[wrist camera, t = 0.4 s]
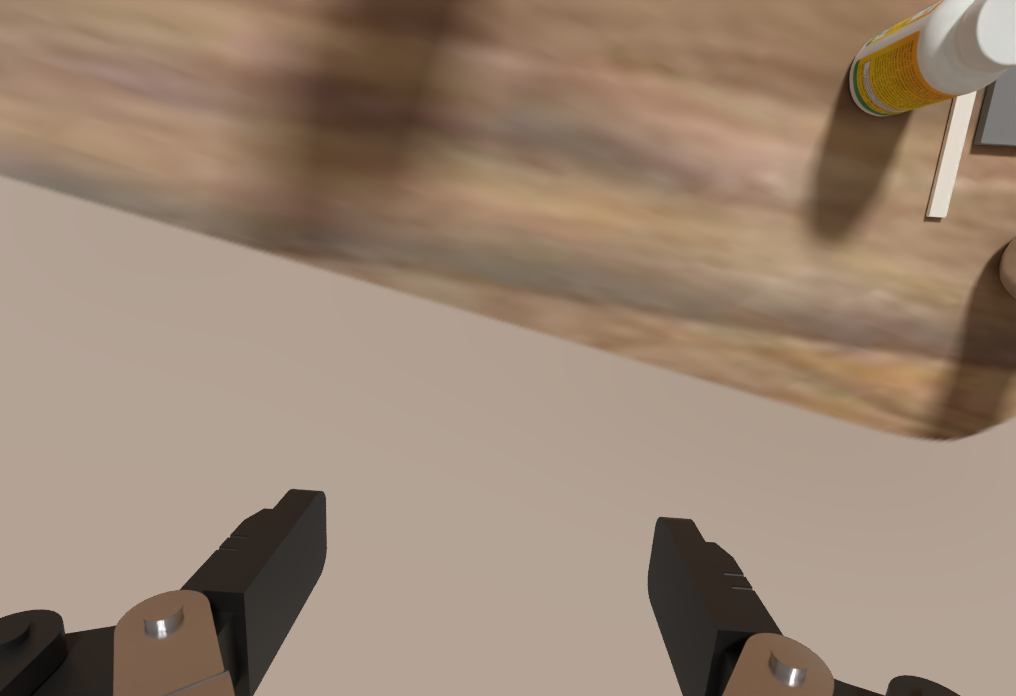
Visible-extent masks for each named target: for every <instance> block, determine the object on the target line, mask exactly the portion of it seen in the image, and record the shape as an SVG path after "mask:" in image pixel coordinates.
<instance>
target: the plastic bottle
mask: <svg viewBox="0 0 1016 696" xmlns="http://www.w3.org/2000/svg"><path fill="white" fill-rule="evenodd" d="M999 273H1000V279H1001V281H1002V284H1003V285H1004V287H1005V288H1006V290H1007V291H1008V292H1009V294H1010V295H1011V296H1012V297H1014V298H1015V299H1016V237H1015V238H1014V239H1013V240H1012V241H1011V242H1010V244H1009V245H1008V246H1007V248H1006V249H1005V251H1004V253H1003V255H1002V258H1001V261H1000V267H999Z"/></svg>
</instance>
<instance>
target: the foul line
mask: <svg viewBox="0 0 1016 696" xmlns="http://www.w3.org/2000/svg"><path fill="white" fill-rule="evenodd" d="M976 92H977V91H974V92H972V93H969V94H965V95H961V96H958V97H954V98H953V103H952V107H951V111H950V115H949V120H948V124H947V128H946V132H945V137H944V141H943V145H942V149H941V154H940V158H939V162H938V166H937V171H936V175H935V179H934V184H933V188H932V192H931V196H930V201H929V205H928V209H927V213H926V217H946V215H947V210H948V206H949V202H950V198H951V194H952V190H953V186H954V182H955V178H956V174H957V169H958V165H959V161H960V157H961V153H962V149H963V145H964V141H965V137H966V133H967V128H968V124H969V120H970V116H971V112H972V108H973V104H974V100H975V96H976Z"/></svg>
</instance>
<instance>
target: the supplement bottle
mask: <svg viewBox="0 0 1016 696" xmlns="http://www.w3.org/2000/svg"><path fill="white" fill-rule="evenodd" d="M1014 66H1016V0H942V1H940V2H938V3H936V4H934V5H933V6H931V7H929V8H927V9H925V10H923V11H921V12H919V13H918V14H916V15H914V16H912V17H910V18H908V19H906V20H904V21H902V22H900V23H898V24H896V25H895V26H893V27H891V28H889V29H887V30H886V31H884V32H882V33H880V34H878V35H877V36H875V37H874V38H872V39H871V40H869V41H868V42H867V43H866V44H865V45H864V46H863V47H862V48H861V50H860V51H859V52H858V54H857V55H856V57H855V59H854V61H853V64H852V66H851V70H850V77H849V81H850V91H851V95H852V97H853V100H854V102H855V103H856V104H857V106H858V107H860V108H861V109H862V110H863V111H865V112H866V113H868V114H871V115H874V116H891V115H895V114H899V113H903V112H906V111H910V110H913V109H917V108H920V107H923V106H927V105H931V104H934V103H937V102H941V101H944V100H948V99H951V98H954V97H958V96H961V95H965V94H969V93H972V92H974V91H977V90H979V89H982V88H984V87H986V86H987V85H989V84H991V83H992V82H994V81H995V80H996V79H998V78H999V77H1000V76H1001V75H1002V74H1003V73H1004V72H1005V71H1006V70H1007V69H1009V68H1011V67H1014Z"/></svg>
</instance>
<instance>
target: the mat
mask: <svg viewBox="0 0 1016 696" xmlns="http://www.w3.org/2000/svg"><path fill="white" fill-rule="evenodd" d="M973 145H989V146H1006V147H1016V66H1014V67H1011V68H1009V69H1007V70H1006V71H1005V72H1004V73H1003V74H1002V75H1001V76H1000V77H999V78H998V79H996V80H995V81H994V82H992V83H991V84H989V85H988V87H987V91H986V95H985V99H984V103H983V107H982V111H981V115H980V119H979V123H978V127H977V131H976V135H975V139H974V143H973Z"/></svg>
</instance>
